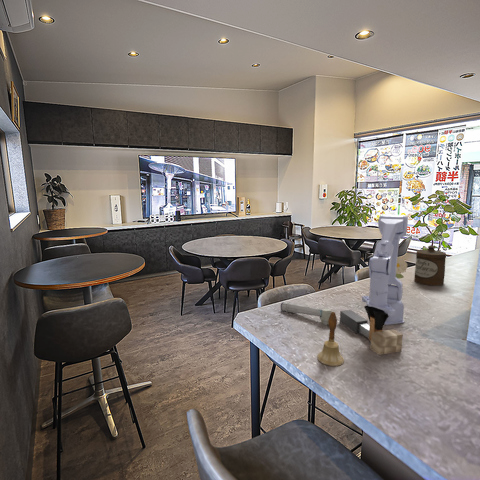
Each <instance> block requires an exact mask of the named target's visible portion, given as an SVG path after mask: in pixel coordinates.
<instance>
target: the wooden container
mask: <svg viewBox="0 0 480 480" xmlns="http://www.w3.org/2000/svg"><path fill="white" fill-rule="evenodd" d="M435 249H436V247H435V246H434V245H432V244H430V245H428V246H427V249H419V250H416V252H415V253H416V254H415V255H416V256H415V257H416V258H415V266H414V282H415V283H418V284H421V285H426V286H435V287H436V286H443V285H444V284H445V283H444V282H445V273H446V259H447V258H446V257H447V253H446V252H444V251H441V250H435Z"/></svg>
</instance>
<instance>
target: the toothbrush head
mask: <svg viewBox="0 0 480 480" xmlns="http://www.w3.org/2000/svg"><path fill="white" fill-rule="evenodd" d="M280 310H281V311H282V312H287V313H294V314H300V315H306V316H307V315H309V316H315V317H319V319H320V323H321V324H323V325H324V326H329V325H328V321H329V317H330V315H331V312H333V310H332V309H331V308H319V307H317V308H316V307H313V306H309V305H303V304H297V303H292V302H290V301H289V302H284V301H283V302H281V303H280Z"/></svg>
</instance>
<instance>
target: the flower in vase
mask: <svg viewBox="0 0 480 480" xmlns="http://www.w3.org/2000/svg"><path fill="white" fill-rule="evenodd" d="M407 267H408V263H407V261H405V259H404V258H402V257H400V256H398V258H397V268H396V278H397V279H399V280H400V279H403V278H405V276H404V275H403V274H404V273H405V272H407V270H408V268H407ZM389 285H392V284H389Z"/></svg>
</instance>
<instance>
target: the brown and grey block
mask: <svg viewBox="0 0 480 480" xmlns="http://www.w3.org/2000/svg"><path fill="white" fill-rule="evenodd" d="M358 331H359V332H360V333H359V334H361V335H363V336H364V337H366V338H367V339H368V341H369V342H371V333H372V332H379V331H384V328H383V329H382V330H376V320H375V316H370V322H369V324H367V323H365V322H363V323H358Z"/></svg>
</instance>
